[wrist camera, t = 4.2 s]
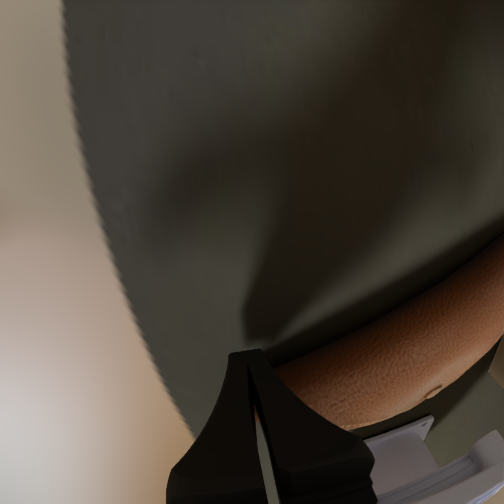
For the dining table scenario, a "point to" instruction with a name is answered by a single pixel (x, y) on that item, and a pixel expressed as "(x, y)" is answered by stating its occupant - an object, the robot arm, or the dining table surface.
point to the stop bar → (498, 364)
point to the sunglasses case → (405, 348)
